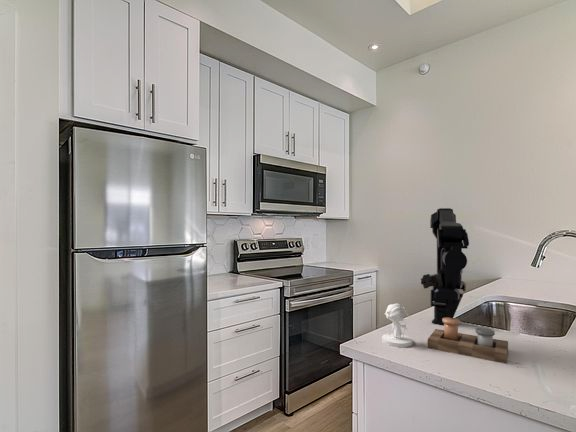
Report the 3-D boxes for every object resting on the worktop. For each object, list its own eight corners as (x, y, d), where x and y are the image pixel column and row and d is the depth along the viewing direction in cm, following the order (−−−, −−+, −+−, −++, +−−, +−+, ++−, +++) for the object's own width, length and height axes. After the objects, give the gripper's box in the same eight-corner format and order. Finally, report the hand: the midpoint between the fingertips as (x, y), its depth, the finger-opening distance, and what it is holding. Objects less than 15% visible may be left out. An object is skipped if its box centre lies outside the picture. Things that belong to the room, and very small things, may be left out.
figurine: (419, 344, 105) (419, 305, 105) (394, 348, 102) (394, 308, 102) (399, 335, 113) (399, 299, 114) (376, 338, 110) (376, 301, 110)
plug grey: (476, 346, 103) (476, 326, 103) (495, 349, 100) (495, 329, 100) (474, 351, 99) (474, 331, 99) (494, 354, 96) (494, 334, 96)
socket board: (435, 336, 112) (435, 328, 112) (508, 349, 101) (508, 341, 101) (427, 347, 103) (427, 339, 103) (506, 363, 91) (506, 354, 91)
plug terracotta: (443, 335, 108) (443, 316, 108) (460, 338, 105) (460, 319, 105) (440, 339, 104) (441, 320, 104) (458, 342, 101) (458, 323, 101)
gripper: (429, 261, 117) (429, 307, 117) (415, 267, 101) (415, 320, 101) (466, 264, 111) (466, 312, 110) (457, 270, 95) (457, 327, 95)
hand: (451, 317), depth 104 cm, fingers closed
